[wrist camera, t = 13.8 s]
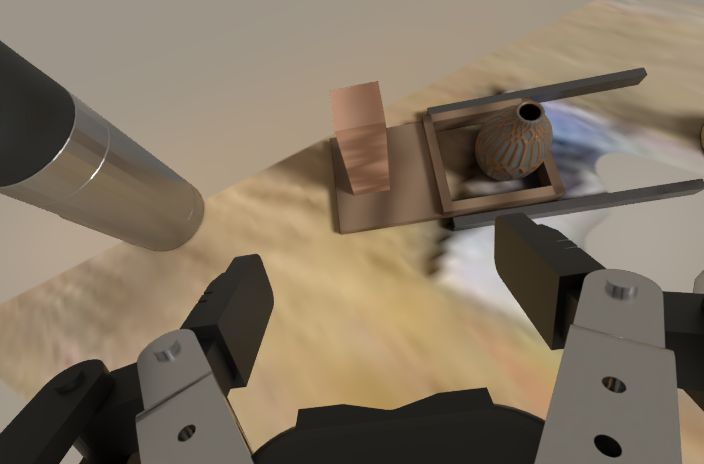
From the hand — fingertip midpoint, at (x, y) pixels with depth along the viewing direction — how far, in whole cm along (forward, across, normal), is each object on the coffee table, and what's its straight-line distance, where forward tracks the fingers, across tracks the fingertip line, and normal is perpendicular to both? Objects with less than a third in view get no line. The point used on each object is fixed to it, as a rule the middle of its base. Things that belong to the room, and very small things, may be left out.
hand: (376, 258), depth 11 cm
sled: (+27, -8, +6) cm, 29 cm away
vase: (+27, -15, +6) cm, 32 cm away
